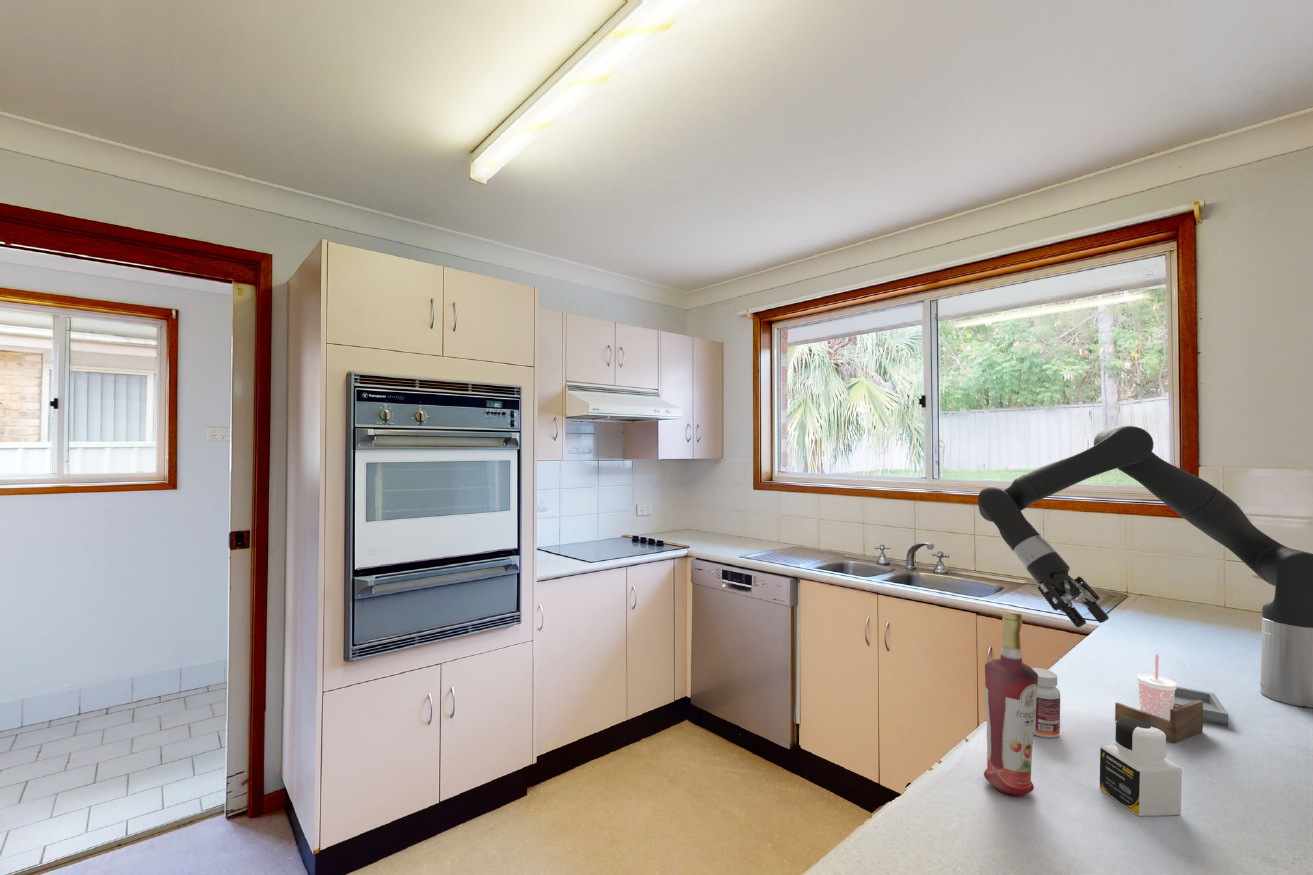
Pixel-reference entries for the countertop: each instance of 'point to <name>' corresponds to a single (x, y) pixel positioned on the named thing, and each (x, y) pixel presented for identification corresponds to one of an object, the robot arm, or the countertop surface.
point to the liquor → (1010, 713)
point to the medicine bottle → (1140, 770)
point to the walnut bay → (1181, 722)
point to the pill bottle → (1047, 705)
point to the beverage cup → (1156, 693)
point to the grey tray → (1211, 704)
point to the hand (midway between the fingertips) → (1093, 623)
